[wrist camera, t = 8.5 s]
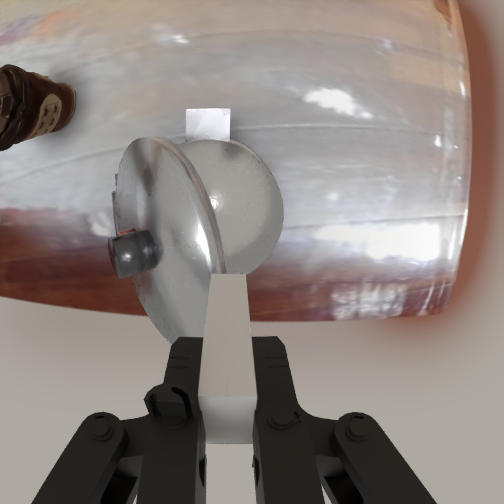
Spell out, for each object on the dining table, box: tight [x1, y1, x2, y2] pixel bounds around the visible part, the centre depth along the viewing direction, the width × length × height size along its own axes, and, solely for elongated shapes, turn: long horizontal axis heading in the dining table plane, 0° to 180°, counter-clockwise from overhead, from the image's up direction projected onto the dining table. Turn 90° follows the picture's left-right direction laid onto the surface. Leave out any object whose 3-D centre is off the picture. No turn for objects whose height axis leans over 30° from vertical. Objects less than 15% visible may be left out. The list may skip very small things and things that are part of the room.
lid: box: [108, 137, 227, 344], centre depth 18 cm, size 15×14×4 cm
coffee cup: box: [0, 64, 76, 151], centre depth 20 cm, size 9×8×13 cm
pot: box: [115, 108, 284, 275], centre depth 28 cm, size 14×18×9 cm
